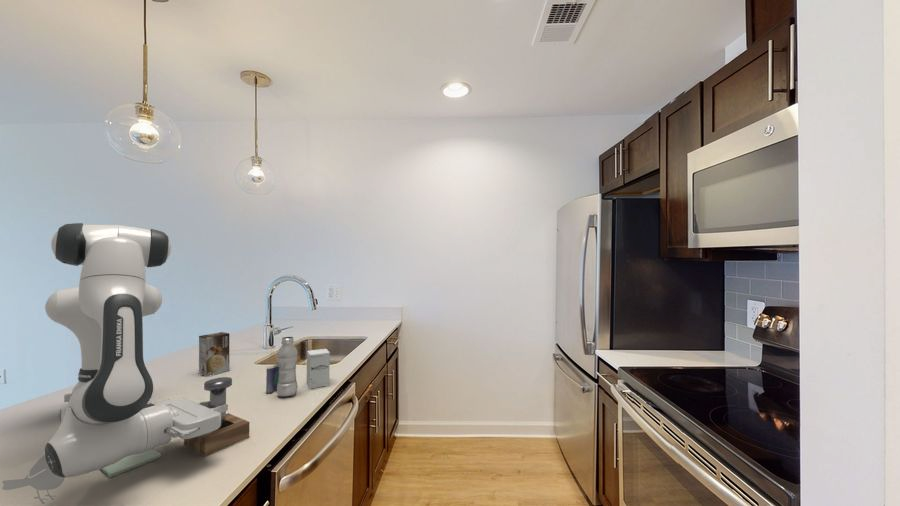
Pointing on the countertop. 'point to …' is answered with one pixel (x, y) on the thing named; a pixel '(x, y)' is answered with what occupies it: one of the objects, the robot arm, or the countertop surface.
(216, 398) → the dark grey capped cylinder
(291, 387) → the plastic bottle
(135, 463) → the coaster
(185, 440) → the walnut block
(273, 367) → the flask
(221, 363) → the coffee box
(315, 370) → the supplement box
